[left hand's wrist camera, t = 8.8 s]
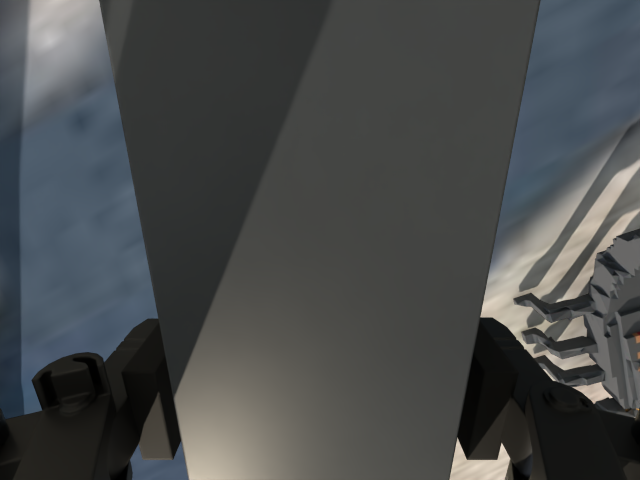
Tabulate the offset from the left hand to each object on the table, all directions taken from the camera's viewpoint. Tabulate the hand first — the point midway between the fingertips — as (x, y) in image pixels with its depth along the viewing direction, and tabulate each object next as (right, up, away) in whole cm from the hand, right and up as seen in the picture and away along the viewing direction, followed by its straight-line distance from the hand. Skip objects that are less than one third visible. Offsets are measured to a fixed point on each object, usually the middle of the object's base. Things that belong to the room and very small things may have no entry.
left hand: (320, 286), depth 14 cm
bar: (0, +7, -2) cm, 7 cm away
